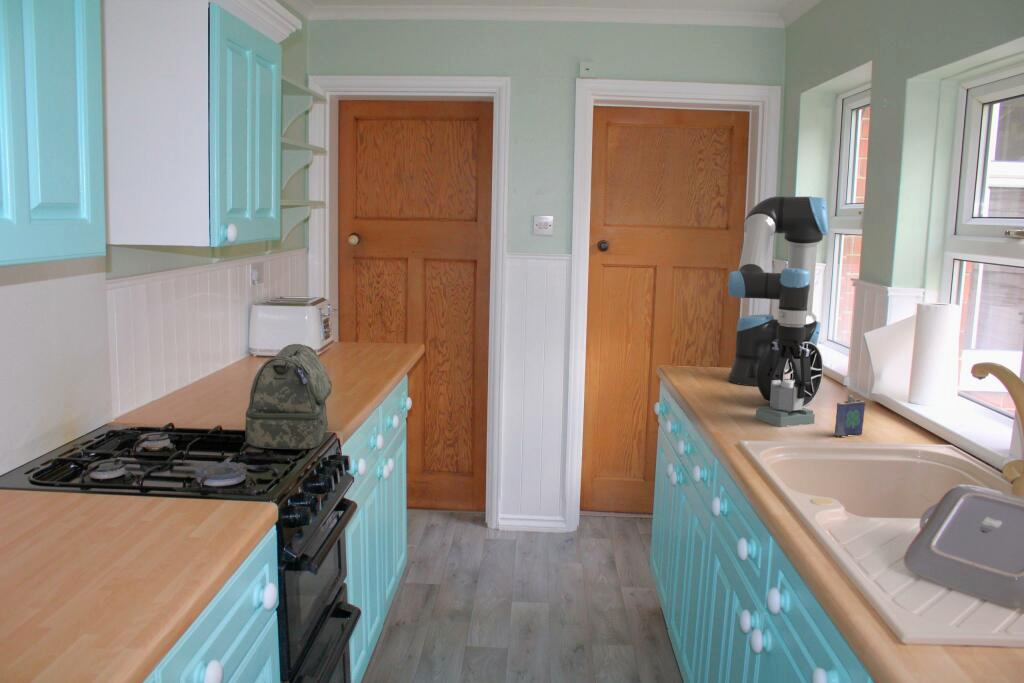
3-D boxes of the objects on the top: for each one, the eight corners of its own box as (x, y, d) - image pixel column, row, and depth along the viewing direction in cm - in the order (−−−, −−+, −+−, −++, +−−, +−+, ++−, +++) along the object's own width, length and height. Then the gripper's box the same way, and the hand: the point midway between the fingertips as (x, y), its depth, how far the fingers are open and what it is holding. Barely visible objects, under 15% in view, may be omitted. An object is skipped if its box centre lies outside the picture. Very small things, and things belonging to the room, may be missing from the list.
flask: (839, 438, 218) (842, 397, 217) (830, 435, 221) (833, 395, 219) (864, 435, 222) (868, 394, 221) (855, 432, 225) (859, 392, 223)
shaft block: (788, 415, 242) (791, 377, 241) (814, 423, 234) (817, 384, 232) (755, 418, 237) (758, 380, 236) (780, 426, 228) (783, 386, 227)
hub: (786, 403, 240) (787, 382, 239) (806, 409, 233) (808, 387, 232) (764, 405, 237) (765, 384, 236) (784, 411, 230) (786, 389, 229)
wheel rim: (780, 411, 247) (785, 344, 244) (754, 405, 254) (759, 339, 251) (820, 404, 259) (825, 339, 256) (794, 398, 266) (799, 335, 263)
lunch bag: (321, 453, 193) (321, 358, 190) (239, 453, 191) (237, 357, 188) (334, 425, 218) (334, 341, 215) (262, 424, 217) (261, 340, 214)
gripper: (755, 320, 239) (749, 399, 243) (809, 330, 221) (802, 415, 224) (775, 320, 243) (770, 397, 246) (830, 329, 224) (823, 413, 227)
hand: (785, 406), depth 235 cm, fingers closed on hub, 8 cm apart
